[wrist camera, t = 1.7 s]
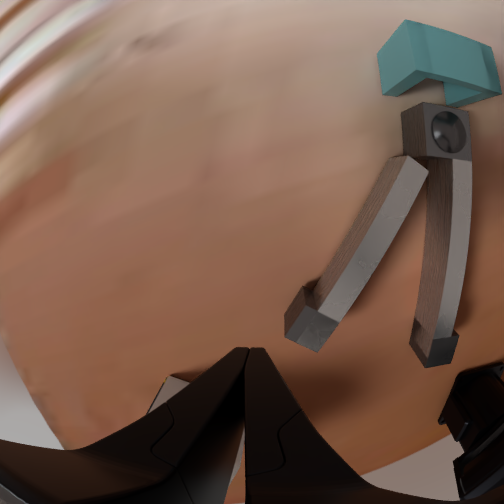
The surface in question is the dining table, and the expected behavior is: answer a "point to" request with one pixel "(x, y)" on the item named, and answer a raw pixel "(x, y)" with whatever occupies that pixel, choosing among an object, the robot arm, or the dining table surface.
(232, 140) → the dining table surface
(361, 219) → the tong arm
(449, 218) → the tong frame
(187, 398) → the robot arm
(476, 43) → the teal notched block
